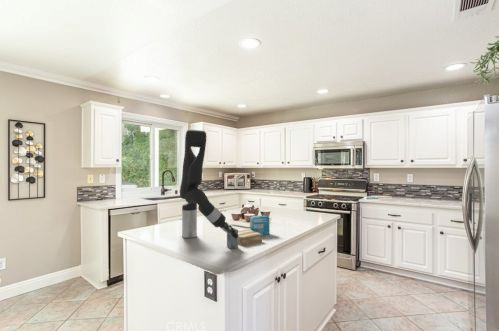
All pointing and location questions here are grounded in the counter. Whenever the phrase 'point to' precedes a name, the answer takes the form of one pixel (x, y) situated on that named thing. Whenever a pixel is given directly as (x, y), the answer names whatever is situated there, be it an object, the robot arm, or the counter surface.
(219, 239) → the counter surface
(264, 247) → the counter surface
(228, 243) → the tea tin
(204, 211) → the robot arm
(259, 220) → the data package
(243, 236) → the oak block
